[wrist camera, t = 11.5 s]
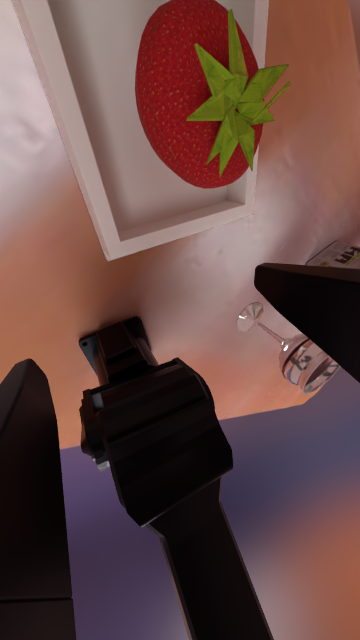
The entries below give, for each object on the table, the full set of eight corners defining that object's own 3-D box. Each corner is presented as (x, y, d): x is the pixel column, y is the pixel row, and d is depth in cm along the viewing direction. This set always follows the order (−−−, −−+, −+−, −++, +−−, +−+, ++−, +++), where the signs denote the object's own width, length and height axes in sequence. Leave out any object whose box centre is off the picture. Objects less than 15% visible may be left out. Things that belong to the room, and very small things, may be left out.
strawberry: (146, 8, 12) (304, -200, 5) (217, 136, 17) (344, 124, 10) (85, 106, 13) (146, 48, 6) (170, 201, 18) (257, 230, 11)
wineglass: (269, 319, 36) (342, 369, 27) (236, 343, 35) (301, 402, 27) (265, 288, 32) (352, 336, 23) (227, 315, 31) (302, 375, 22)
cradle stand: (229, 218, 23) (294, 238, 17) (105, 257, 19) (134, 299, 13) (231, -148, 12) (427, -461, 6) (-71, -228, 8) (-384, -1350, 2)
